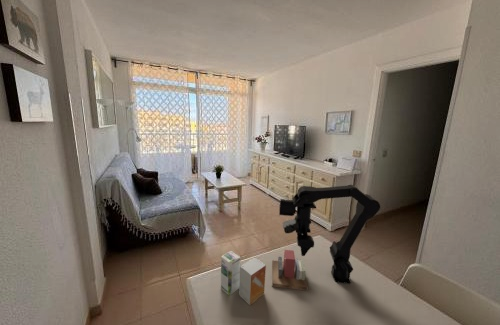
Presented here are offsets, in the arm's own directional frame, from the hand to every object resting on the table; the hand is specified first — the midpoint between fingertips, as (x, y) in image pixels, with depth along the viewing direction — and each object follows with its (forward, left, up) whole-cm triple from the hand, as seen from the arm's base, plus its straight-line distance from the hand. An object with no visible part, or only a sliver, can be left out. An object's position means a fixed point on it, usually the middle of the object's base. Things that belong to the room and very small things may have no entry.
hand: (301, 249), depth 89 cm
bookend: (+9, +3, -10) cm, 14 cm away
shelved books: (0, +3, -10) cm, 11 cm away
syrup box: (+29, +13, -12) cm, 34 cm away
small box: (+20, +15, -12) cm, 28 cm away
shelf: (+5, +3, -12) cm, 13 cm away
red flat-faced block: (+5, +2, -10) cm, 12 cm away
